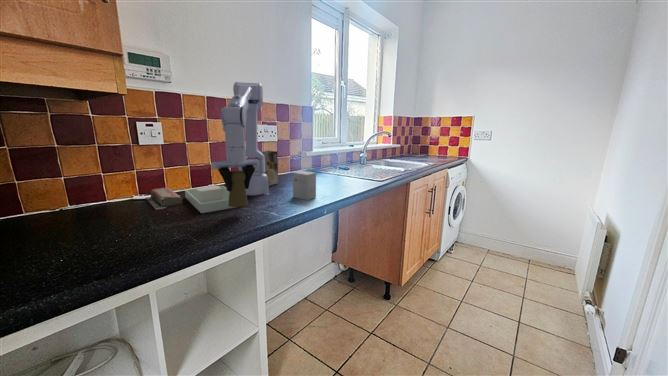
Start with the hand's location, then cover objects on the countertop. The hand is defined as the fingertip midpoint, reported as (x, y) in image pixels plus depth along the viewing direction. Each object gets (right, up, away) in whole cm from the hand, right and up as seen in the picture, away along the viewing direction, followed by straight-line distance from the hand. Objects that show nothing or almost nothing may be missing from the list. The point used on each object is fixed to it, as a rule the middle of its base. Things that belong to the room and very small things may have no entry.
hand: (237, 189), depth 89 cm
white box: (-16, -4, +16) cm, 23 cm away
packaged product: (-30, -6, +12) cm, 33 cm away
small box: (+19, -4, +26) cm, 32 cm away
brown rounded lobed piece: (0, -5, +1) cm, 5 cm away
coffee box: (-2, +2, +47) cm, 47 cm away
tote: (-13, -5, +13) cm, 19 cm away
